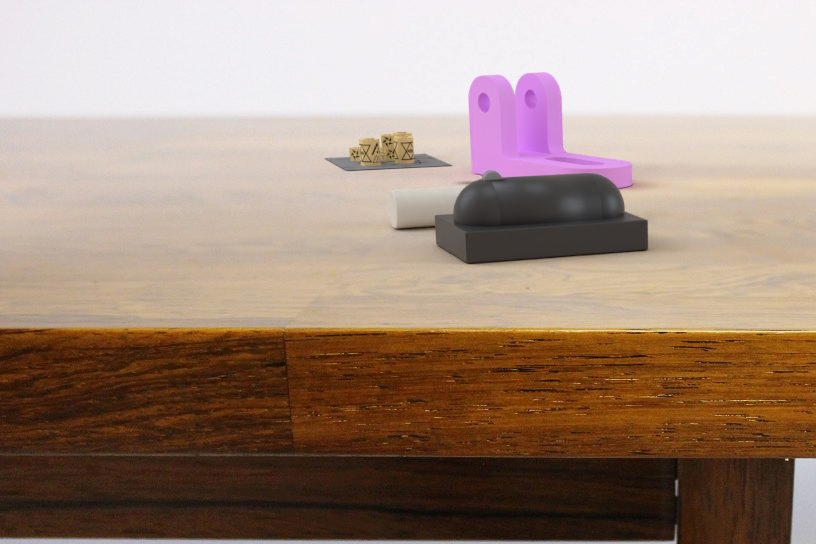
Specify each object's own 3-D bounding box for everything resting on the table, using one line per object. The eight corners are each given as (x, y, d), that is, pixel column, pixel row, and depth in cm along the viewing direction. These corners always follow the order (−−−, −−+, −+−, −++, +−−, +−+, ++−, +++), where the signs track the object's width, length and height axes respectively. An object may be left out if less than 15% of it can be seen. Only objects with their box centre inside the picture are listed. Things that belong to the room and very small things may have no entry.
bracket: (471, 173, 108) (467, 74, 106) (532, 166, 112) (529, 70, 110) (587, 192, 99) (585, 85, 97) (648, 184, 103) (647, 80, 101)
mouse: (466, 263, 75) (462, 180, 74) (435, 244, 80) (431, 165, 79) (648, 249, 79) (647, 170, 78) (608, 232, 84) (606, 157, 83)
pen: (399, 222, 84) (392, 181, 84) (391, 233, 86) (384, 192, 86) (601, 209, 89) (595, 170, 89) (589, 219, 91) (582, 181, 91)
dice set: (410, 156, 117) (409, 131, 117) (427, 163, 113) (426, 137, 112) (346, 158, 115) (344, 133, 115) (361, 166, 111) (359, 140, 110)
